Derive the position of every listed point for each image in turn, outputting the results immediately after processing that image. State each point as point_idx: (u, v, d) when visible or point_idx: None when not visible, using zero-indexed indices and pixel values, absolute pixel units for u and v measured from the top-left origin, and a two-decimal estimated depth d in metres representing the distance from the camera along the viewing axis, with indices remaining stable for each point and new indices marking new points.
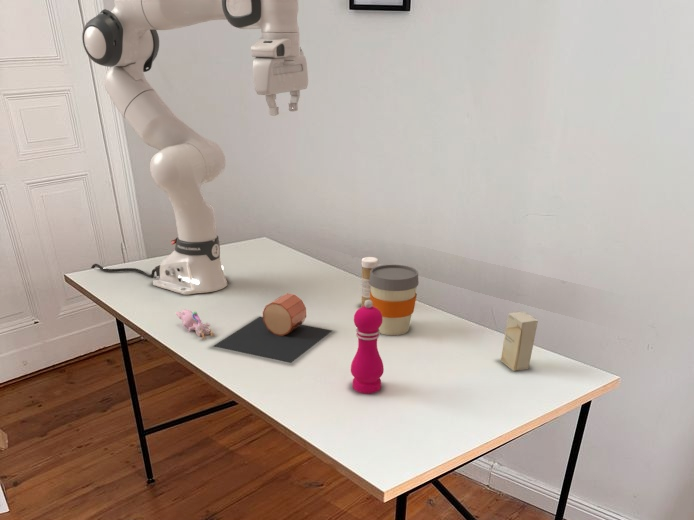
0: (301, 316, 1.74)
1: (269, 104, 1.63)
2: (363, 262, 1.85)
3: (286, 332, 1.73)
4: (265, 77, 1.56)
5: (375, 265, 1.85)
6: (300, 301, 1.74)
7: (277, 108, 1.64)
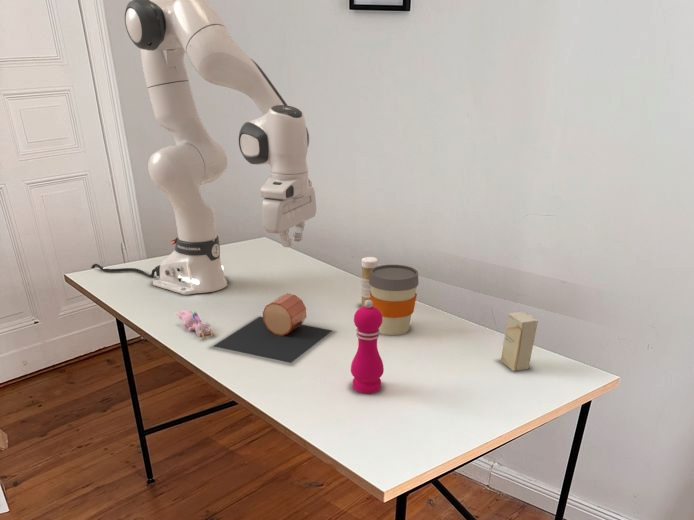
0: (301, 316, 1.74)
1: (282, 237, 1.66)
2: (363, 262, 1.85)
3: (286, 332, 1.73)
4: (275, 218, 1.57)
5: (375, 265, 1.85)
6: (300, 301, 1.74)
7: (290, 240, 1.67)
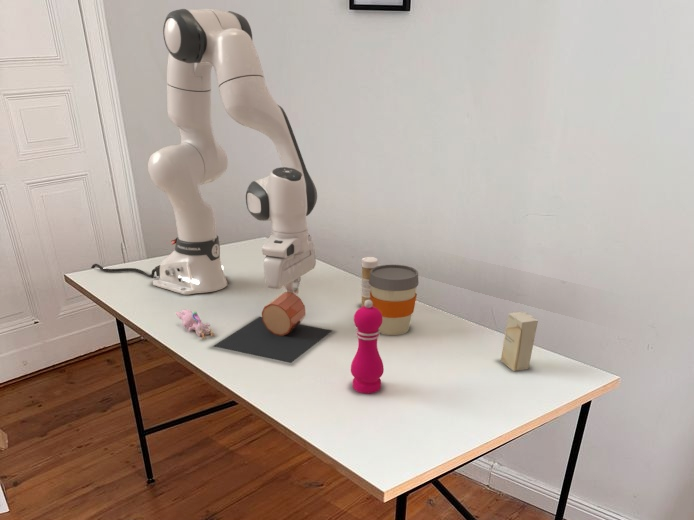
0: (300, 315, 1.74)
1: (287, 288, 1.74)
2: (363, 262, 1.85)
3: (286, 332, 1.73)
4: (276, 275, 1.64)
5: (375, 265, 1.85)
6: (298, 299, 1.73)
7: (294, 290, 1.75)
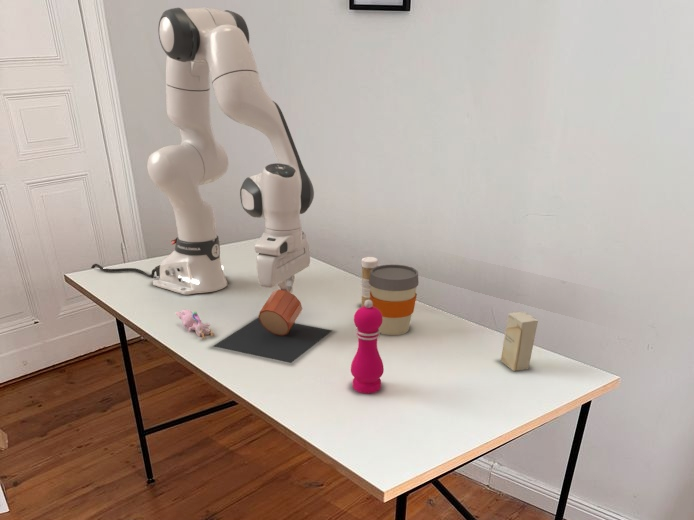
0: (297, 313, 1.72)
1: (280, 286, 1.71)
2: (363, 262, 1.85)
3: (285, 333, 1.73)
4: (269, 273, 1.61)
5: (375, 265, 1.85)
6: (293, 297, 1.70)
7: (288, 289, 1.72)
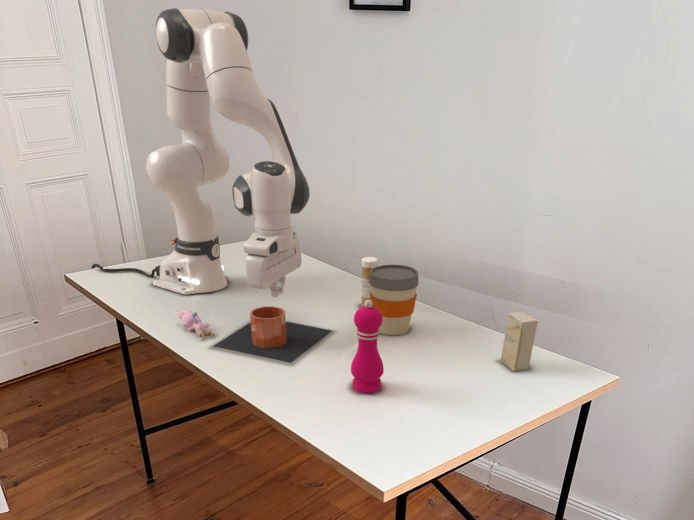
0: (283, 325, 1.67)
1: (271, 288, 1.66)
2: (363, 262, 1.85)
3: None
4: (258, 274, 1.56)
5: (375, 265, 1.85)
6: (272, 322, 1.64)
7: (279, 290, 1.68)
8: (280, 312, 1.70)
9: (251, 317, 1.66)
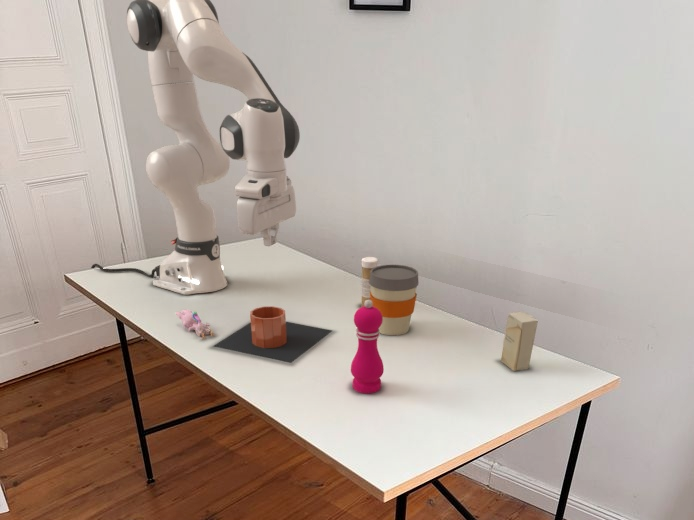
0: (283, 325, 1.67)
1: (263, 236, 1.59)
2: (363, 262, 1.85)
3: None
4: (250, 218, 1.49)
5: (375, 265, 1.85)
6: (272, 322, 1.64)
7: (272, 239, 1.60)
8: (280, 312, 1.70)
9: (251, 317, 1.66)
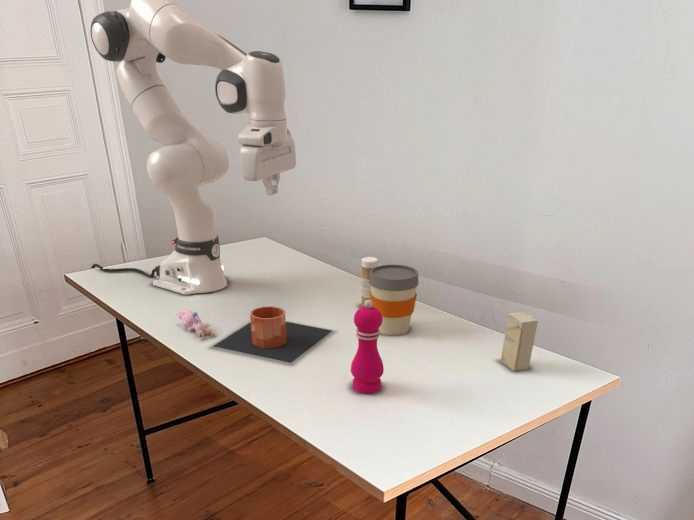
0: (283, 325, 1.67)
1: (265, 185, 1.68)
2: (363, 262, 1.85)
3: None
4: (253, 165, 1.58)
5: (375, 265, 1.85)
6: (272, 322, 1.64)
7: (273, 188, 1.69)
8: (280, 312, 1.70)
9: (251, 317, 1.66)
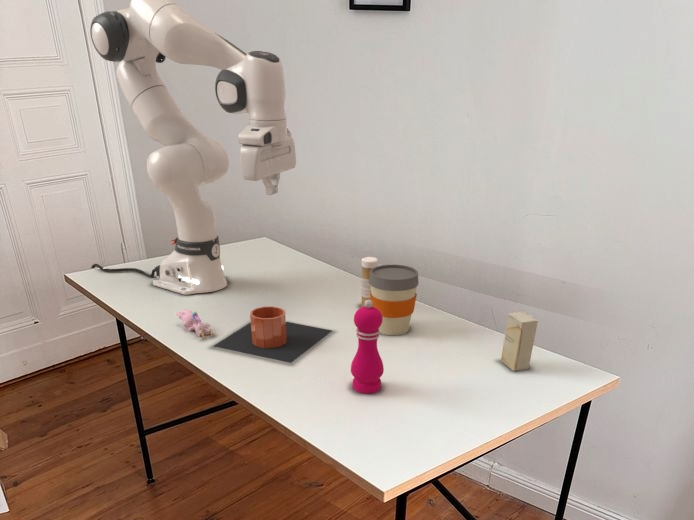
0: (283, 325, 1.67)
1: (265, 184, 1.68)
2: (363, 262, 1.85)
3: None
4: (253, 165, 1.58)
5: (375, 265, 1.85)
6: (272, 322, 1.64)
7: (273, 188, 1.69)
8: (280, 312, 1.70)
9: (251, 317, 1.66)
